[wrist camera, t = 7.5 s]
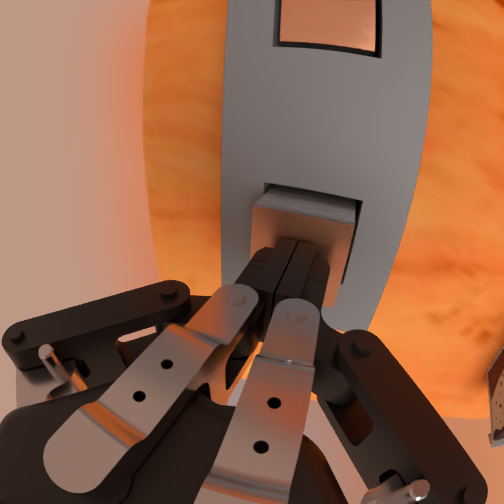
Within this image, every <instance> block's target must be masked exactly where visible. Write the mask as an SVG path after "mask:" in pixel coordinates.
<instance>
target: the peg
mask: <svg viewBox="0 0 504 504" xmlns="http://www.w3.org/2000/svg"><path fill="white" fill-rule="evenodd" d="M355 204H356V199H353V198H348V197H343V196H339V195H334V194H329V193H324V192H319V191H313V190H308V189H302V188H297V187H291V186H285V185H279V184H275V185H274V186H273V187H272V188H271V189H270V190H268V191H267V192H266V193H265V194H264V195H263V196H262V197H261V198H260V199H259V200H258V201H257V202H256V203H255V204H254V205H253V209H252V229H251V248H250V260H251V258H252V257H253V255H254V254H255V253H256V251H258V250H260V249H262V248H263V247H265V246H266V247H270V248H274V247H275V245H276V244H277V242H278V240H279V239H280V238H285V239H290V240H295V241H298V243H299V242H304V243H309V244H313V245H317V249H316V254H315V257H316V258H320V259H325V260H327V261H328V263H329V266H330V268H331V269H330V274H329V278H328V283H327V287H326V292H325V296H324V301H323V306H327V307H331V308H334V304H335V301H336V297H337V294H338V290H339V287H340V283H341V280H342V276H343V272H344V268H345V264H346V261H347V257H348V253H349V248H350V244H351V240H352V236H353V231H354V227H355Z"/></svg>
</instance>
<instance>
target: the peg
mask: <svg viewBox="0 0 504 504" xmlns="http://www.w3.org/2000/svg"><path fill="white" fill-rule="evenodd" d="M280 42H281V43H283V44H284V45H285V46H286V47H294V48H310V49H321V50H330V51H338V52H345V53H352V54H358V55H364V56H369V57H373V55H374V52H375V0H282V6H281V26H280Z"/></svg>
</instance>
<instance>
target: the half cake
mask: <svg viewBox="0 0 504 504" xmlns="http://www.w3.org/2000/svg"><path fill="white" fill-rule="evenodd" d="M486 378H487V385H488V393H489V403H490V417H491V434H488V436H489V441H490V444H491V446H492V448H495V447H499V446H502V445H504V345H503V347H502V348H501V350H500V352H499V353H498V355H497V356H496V358H495V360H494V361H493V363H492V364H491V366H490V367H489V369H488V370H487V372H486Z"/></svg>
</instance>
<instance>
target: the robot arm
mask: <svg viewBox="0 0 504 504" xmlns="http://www.w3.org/2000/svg"><path fill="white" fill-rule="evenodd" d="M316 249H317V245H313V244H309V243H304V242H299V243H298V241H295V240H290V239H285V238H280V239H279V240H278V242H277V244H276V245H275V247H274V248H270V247H266V246H265V247H263V248H262V249H260V250H258V251H256V253H255V254H254V255H253V257H252V258H251V260H250V261H249V263H248V264H247V266H246V267H245V268H244V270H243V271H242V273H241V274H240V275H239V277H238V278H237V280H236V281H235V283H234V284H228V285H225V286H223V287H221V288H219V289H218V290H217V291H216V292H215V293H214V294H213V295H212V296H195V295H190V290H189V287H188V286H187V285H186V284H185V283H183V282H180V281H176V280H166V281H162V282H158V283H155V284H151V285H148V286H144V287H141V288H137V289H134V290H130V291H127V292H123V293H120V294H116V295H113V296H109V297H106V298H102V299H99V300H95V301H91V302H88V303H85V304H81V305H78V306H74V307H70V308H67V309H63V310H60V311H56V312H53V313H49V314H45V315H42V316H39V317H35V318H32V319H28V320H24V321H20V322H17V323H15V324H13V325H12V326H10V327H9V328H8V329H7V330H6V332H5V333H4V335H3V338H2V346H3V348H4V350H5V351H6V353H7V354H8V355H9V357H10V358H11V360H12V361H13V363H14V365H15V367H16V398H17V409H15V410H13V411H12V412H10V413H9V414H7V415H6V416H5V417H4V419H3V420H2V422H1V423H0V504H348V502H347V500H346V498H345V496H344V494H343V492H342V490H341V488H340V486H339V484H338V482H337V480H336V478H335V476H334V474H333V472H332V470H331V468H330V466H329V464H328V462H327V460H326V458H325V456H324V454H323V453H322V452H321V450H320V449H319V448H318V447H317V445H316V444H315V443H314V442H313V441H311V440H310V439H309V438H308V437H307V436H305V435H304V434H303V431H304V427H305V422H306V416H307V412H308V407H309V401H310V396H311V392H313V393H314V394H316V395H317V400H318V402H319V404H320V406H321V408H322V410H323V411H324V413H325V415H326V417H327V419H328V420H329V422H330V424H331V426H332V427H333V429H334V431H335V433H336V434H337V436H338V438H339V440H340V441H341V443H342V445H343V447H344V448H345V450H346V452H347V453H348V455H349V457H350V459H351V461H352V462H353V464H354V466H355V467H356V469H357V471H358V472H359V474H360V476H361V478H362V479H363V481H364V483H365V485H366V486H367V488H368V489H369V491H368V492H367V493H366V494H365V495H364V497H363V498H362V501H361V504H485V502H486V499H487V494H488V488H487V484H486V481H485V479H484V478H483V476H482V475H481V473H480V472H479V471H478V469H477V467H476V466H475V464H474V463H473V461H472V460H471V459H470V457H469V456H468V454H467V453H466V451H465V450H464V448H463V447H462V446H461V444H460V443H459V442H458V440H457V439H456V437H455V436H454V435H453V433H452V432H451V430H450V429H449V428H448V426H447V425H446V424H445V422H444V421H443V419H442V418H441V417H440V415H439V414H438V413H437V411H436V410H435V409H434V407H433V406H432V405H431V403H430V402H429V401H428V399H427V398H426V397H425V395H424V394H423V393H422V392H421V390H420V389H419V388H418V386H417V385H416V384H415V383H414V381H413V380H412V379H411V377H410V376H409V375H408V374H407V372H406V371H405V370H404V369H403V367H402V366H401V365H400V364H399V362H398V361H397V360H396V359H395V357H394V356H393V355H392V354H391V352H390V351H389V350H388V349H387V347H386V346H385V345H384V344H383V343H382V341H381V340H380V339H379V338H378V337H377V336H376V335H374V334H373V333H371V332H368V331H365V330H361V329H354V330H349V331H347V332H345V333H344V334H342V333H340V332H338V331H336V330H334V329H332V328H331V327H330V326H328V325H327V324H326V322H325V321H324V319H323V318H322V314H321V310H322V305H323V301H324V296H325V292H326V287H327V283H328V278H329V274H330V269H331V268H330V266H329V263H328V261H327V260H325V259H320V258H316V257H315V254H316ZM152 326H155V328H156V331H157V332H156V333H153V334H150V335H147V336H144V337H140V338H137V339H134V340H131V341H128V342H120V341H118V340H117V339H118V338H119V337H121V336H123V335H126V334H130V333H133V332H136V331H140V330H142V329H146V328H149V327H152ZM259 341H260V342H263V345H262V348H261V351H260V353H259V355H258V354H257V355H256V356H255V358H254V360H253V363H252V366H251V369H250V371H249V374H248V377H247V380H246V383H245V385H244V388H243V390H242V393H241V396H240V398H239V401H238V404H237V406H236V407H235V406H227V402H228V399H229V397H230V395H231V393H232V392H233V390H234V389H235V387H236V385H237V384H238V382H239V380H240V379H241V377H242V375H243V374H244V372H245V370H246V369H247V367H248V365H249V364H250V362H251V360H252V359H253V356H254V351H255V349H256V347H257V345H258V343H259Z"/></svg>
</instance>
